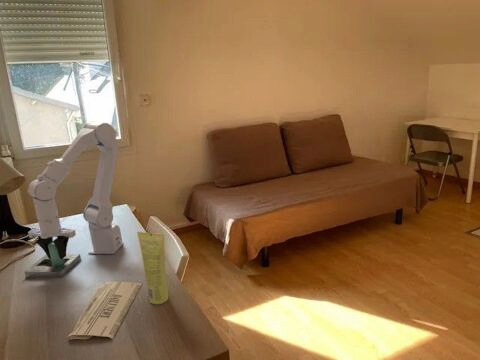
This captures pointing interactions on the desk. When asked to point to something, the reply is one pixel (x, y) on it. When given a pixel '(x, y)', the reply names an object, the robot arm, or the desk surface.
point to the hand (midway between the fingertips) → (57, 257)
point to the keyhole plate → (52, 272)
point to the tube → (154, 266)
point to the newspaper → (105, 310)
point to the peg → (55, 256)
